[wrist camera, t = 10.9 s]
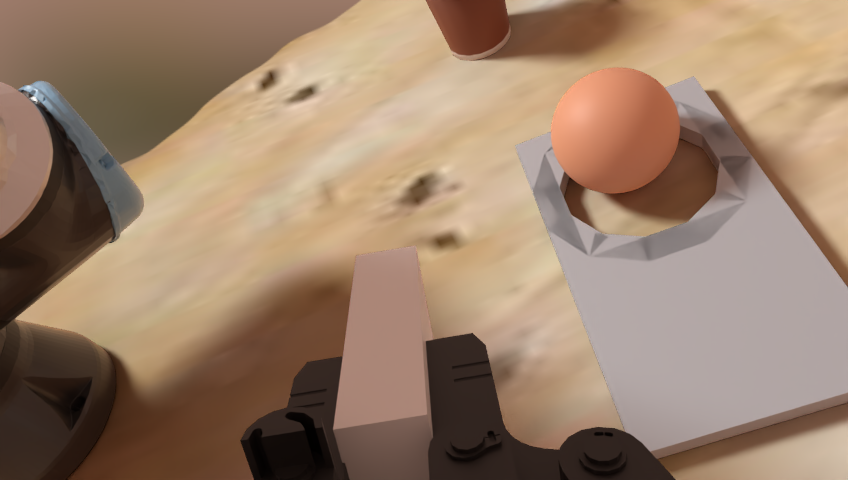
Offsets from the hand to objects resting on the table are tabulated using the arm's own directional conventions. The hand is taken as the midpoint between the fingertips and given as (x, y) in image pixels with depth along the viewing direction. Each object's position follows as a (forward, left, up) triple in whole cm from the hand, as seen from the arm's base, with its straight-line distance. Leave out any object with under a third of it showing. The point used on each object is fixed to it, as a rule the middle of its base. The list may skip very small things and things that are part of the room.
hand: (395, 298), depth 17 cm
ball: (-16, +23, -23) cm, 36 cm away
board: (-8, +19, -28) cm, 34 cm away
